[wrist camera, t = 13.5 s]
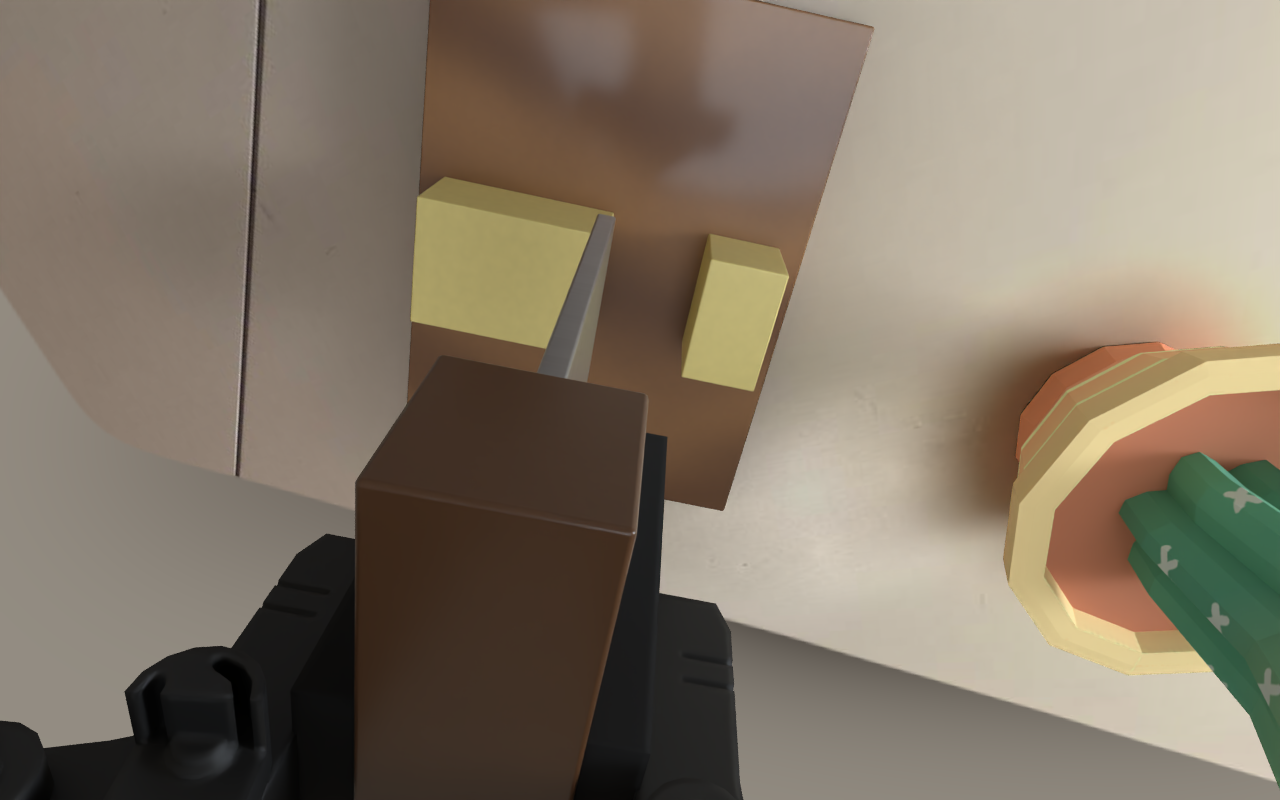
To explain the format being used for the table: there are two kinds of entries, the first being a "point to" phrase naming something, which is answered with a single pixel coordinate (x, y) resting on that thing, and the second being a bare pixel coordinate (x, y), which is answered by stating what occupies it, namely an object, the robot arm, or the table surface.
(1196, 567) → the potted cactus
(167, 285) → the table surface
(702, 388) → the board
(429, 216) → the butter
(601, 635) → the cleaver
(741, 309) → the butter pat
